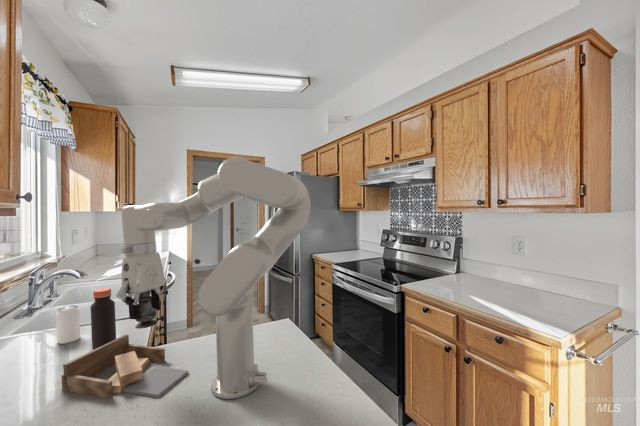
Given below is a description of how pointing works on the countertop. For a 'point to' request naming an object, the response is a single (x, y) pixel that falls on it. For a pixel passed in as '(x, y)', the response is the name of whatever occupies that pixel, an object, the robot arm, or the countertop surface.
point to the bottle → (102, 318)
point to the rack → (102, 366)
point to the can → (68, 324)
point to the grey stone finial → (146, 311)
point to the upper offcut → (128, 368)
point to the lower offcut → (118, 389)
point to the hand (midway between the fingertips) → (145, 313)
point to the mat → (156, 381)
